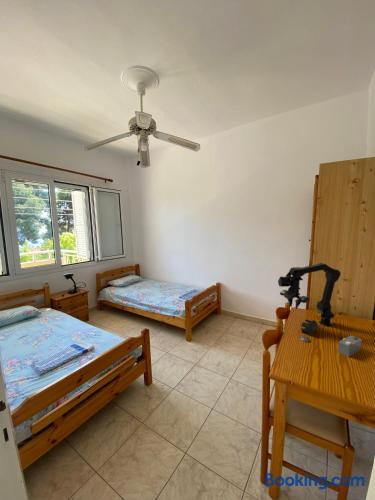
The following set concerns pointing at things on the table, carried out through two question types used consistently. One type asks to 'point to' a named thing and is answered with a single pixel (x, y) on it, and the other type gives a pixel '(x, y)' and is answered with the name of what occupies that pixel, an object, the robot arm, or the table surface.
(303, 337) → the lens cap
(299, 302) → the robot arm
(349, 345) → the camera body
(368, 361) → the table surface
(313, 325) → the end cap
